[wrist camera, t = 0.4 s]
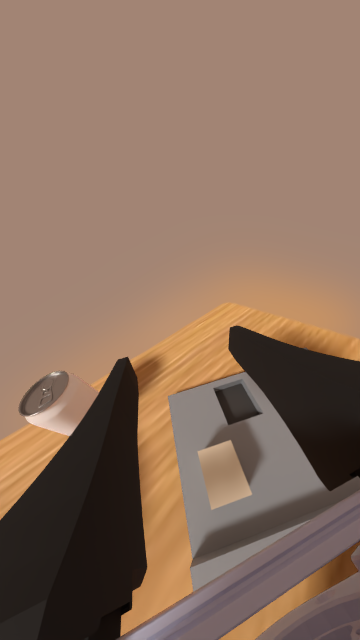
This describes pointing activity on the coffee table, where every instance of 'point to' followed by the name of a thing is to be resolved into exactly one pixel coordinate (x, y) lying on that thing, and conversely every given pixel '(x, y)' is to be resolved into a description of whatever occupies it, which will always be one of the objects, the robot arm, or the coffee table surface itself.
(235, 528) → the box
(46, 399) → the can
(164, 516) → the coffee table surface
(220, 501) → the block
